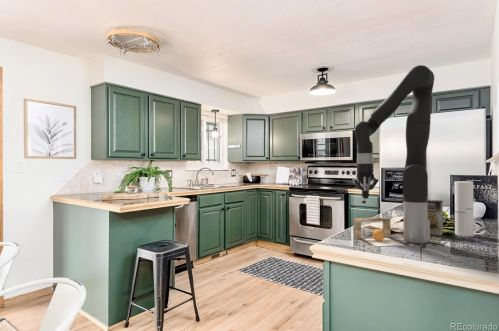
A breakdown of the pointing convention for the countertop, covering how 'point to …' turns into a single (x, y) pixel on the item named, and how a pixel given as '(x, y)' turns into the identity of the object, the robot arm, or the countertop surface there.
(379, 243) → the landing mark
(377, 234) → the ball
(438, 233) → the coffee box
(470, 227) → the cylindrical container
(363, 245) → the countertop surface
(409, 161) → the robot arm
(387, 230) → the bridge
